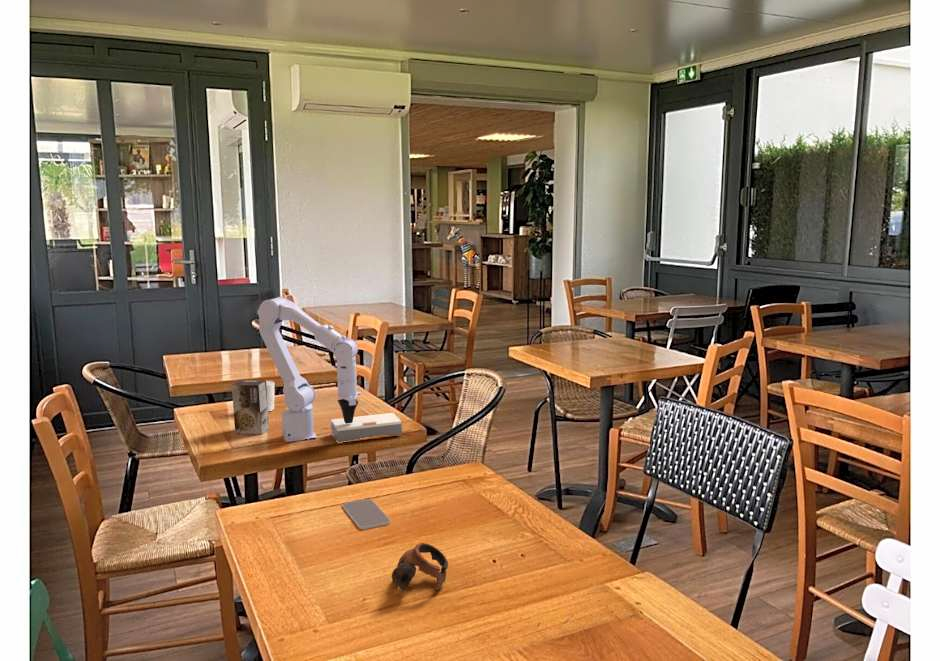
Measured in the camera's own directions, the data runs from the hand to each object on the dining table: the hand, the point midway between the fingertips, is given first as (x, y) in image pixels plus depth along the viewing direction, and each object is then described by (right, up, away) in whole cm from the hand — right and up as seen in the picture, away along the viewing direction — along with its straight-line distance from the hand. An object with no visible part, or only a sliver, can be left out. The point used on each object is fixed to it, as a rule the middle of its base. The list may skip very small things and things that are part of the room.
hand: (348, 422), depth 216 cm
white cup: (-35, 0, +33) cm, 48 cm away
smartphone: (+13, -15, -53) cm, 57 cm away
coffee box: (-33, -4, +9) cm, 34 cm away
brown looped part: (+27, -20, -84) cm, 91 cm away
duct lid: (+5, -1, +4) cm, 6 cm away
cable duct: (+5, -5, +5) cm, 8 cm away
